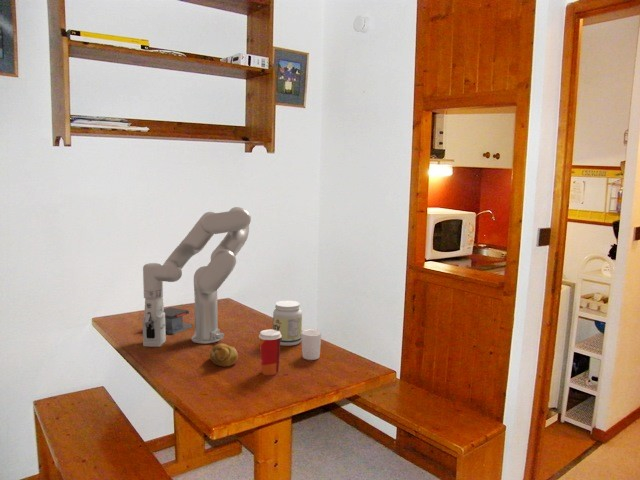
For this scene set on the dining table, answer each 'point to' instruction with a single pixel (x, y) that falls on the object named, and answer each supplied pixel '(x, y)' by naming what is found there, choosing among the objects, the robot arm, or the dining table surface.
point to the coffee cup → (270, 351)
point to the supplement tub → (288, 322)
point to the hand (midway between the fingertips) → (154, 334)
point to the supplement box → (159, 332)
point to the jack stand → (175, 320)
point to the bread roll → (223, 355)
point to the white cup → (311, 344)
